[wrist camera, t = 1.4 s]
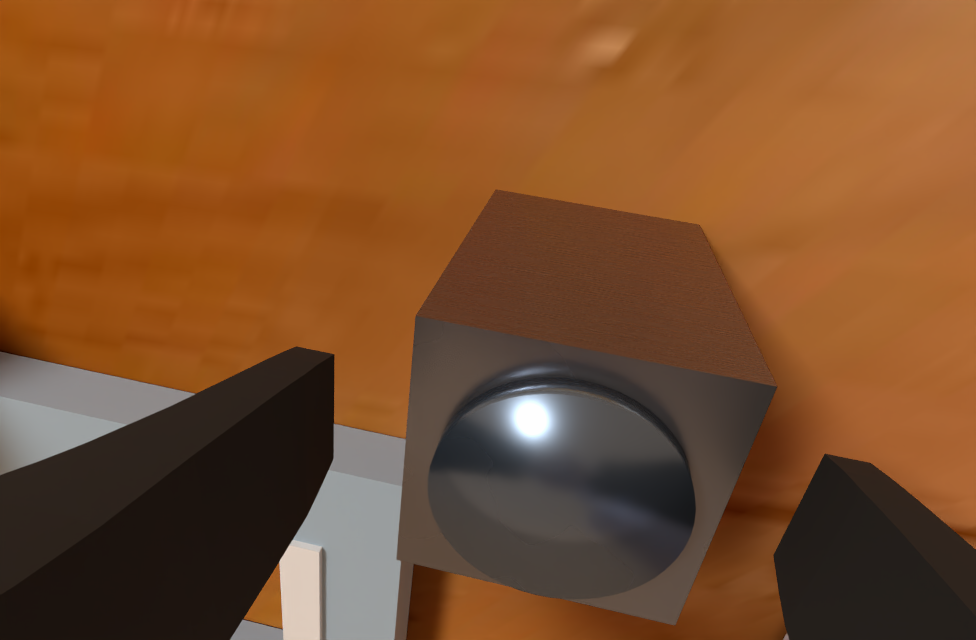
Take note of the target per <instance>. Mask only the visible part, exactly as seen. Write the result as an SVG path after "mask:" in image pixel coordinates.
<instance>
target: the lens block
mask: <svg viewBox="0 0 976 640" xmlns="http://www.w3.org/2000/svg"><path fill="white" fill-rule="evenodd" d="M776 388H777V385H776V383H775V381H774V379H773V377H772V375H771V373H770V371H769V369H768V367H767V364H766V362H765V360H764V358H763V356H762V354H761V352H760V350H759V348H758V346H757V344H756V342H755V340H754V337H753V335H752V333H751V331H750V329H749V327H748V325H747V323H746V321H745V319H744V317H743V315H742V312H741V310H740V308H739V306H738V304H737V302H736V300H735V298H734V296H733V294H732V292H731V290H730V288H729V285H728V283H727V281H726V279H725V277H724V275H723V273H722V271H721V269H720V267H719V265H718V263H717V260H716V258H715V256H714V254H713V252H712V250H711V248H710V246H709V244H708V242H707V240H706V238H705V236H704V233H703V231H702V229H701V227H700V225H697V224H692V223H686V222H680V221H674V220H669V219H663V218H657V217H651V216H646V215H640V214H634V213H628V212H622V211H617V210H611V209H605V208H599V207H594V206H588V205H582V204H576V203H571V202H565V201H559V200H553V199H548V198H542V197H536V196H530V195H524V194H519V193H513V192H507V191H501V190H495V192H494V193H493V195H492V196H491V198H490V200H489V201H488V203H487V204H486V206H485V207H484V209H483V211H482V212H481V214H480V215H479V217H478V219H477V220H476V222H475V223H474V225H473V226H472V228H471V230H470V231H469V233H468V234H467V236H466V237H465V239H464V241H463V242H462V244H461V245H460V247H459V248H458V250H457V252H456V253H455V255H454V256H453V258H452V259H451V261H450V263H449V264H448V266H447V267H446V269H445V270H444V272H443V274H442V275H441V277H440V278H439V280H438V282H437V283H436V285H435V286H434V288H433V289H432V291H431V293H430V294H429V296H428V297H427V299H426V300H425V302H424V304H423V305H422V307H421V308H420V310H419V311H418V313H417V315H416V318H415V331H414V344H413V356H412V369H411V381H410V394H409V406H408V419H407V431H406V444H405V456H404V469H403V481H402V494H401V506H400V519H399V532H398V544H397V557H396V560H399V561H404V562H408V563H412V564H416V565H421V566H425V567H429V568H433V569H438V570H442V571H446V572H450V573H454V574H459V575H463V576H467V577H471V578H476V579H480V580H484V581H488V582H493V583H497V584H501V585H505V586H510V587H512V588H515V589H518V590H521V591H524V592H528V593H531V594H535V595H540V596H545V597H550V598H560V599H565V600H569V601H573V602H577V603H582V604H586V605H590V606H594V607H599V608H603V609H607V610H611V611H616V612H620V613H624V614H628V615H632V616H637V617H641V618H645V619H649V620H654V621H658V622H662V623H666V624H671V625H676V622H677V620H678V618H679V615H680V613H681V611H682V608H683V606H684V604H685V601H686V599H687V597H688V594H689V592H690V590H691V587H692V585H693V583H694V580H695V578H696V576H697V573H698V571H699V569H700V566H701V564H702V562H703V559H704V557H705V555H706V552H707V550H708V548H709V545H710V543H711V540H712V538H713V536H714V533H715V531H716V529H717V526H718V524H719V522H720V519H721V517H722V515H723V512H724V510H725V508H726V505H727V503H728V501H729V498H730V496H731V494H732V491H733V489H734V487H735V484H736V482H737V480H738V477H739V475H740V473H741V470H742V468H743V466H744V463H745V461H746V459H747V456H748V454H749V451H750V449H751V447H752V444H753V442H754V440H755V437H756V435H757V433H758V430H759V428H760V426H761V423H762V421H763V419H764V416H765V414H766V412H767V409H768V407H769V405H770V402H771V400H772V398H773V395H774V393H775V391H776Z"/></svg>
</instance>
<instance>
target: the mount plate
mask: <svg viewBox="0 0 976 640" xmlns="http://www.w3.org/2000/svg"><path fill="white" fill-rule="evenodd" d="M193 395H195V394H194V393H189V392H185V391H180V390H175V389H171V388H166V387H161V386H157V385H152V384H148V383H143V382H138V381H134V380H129V379H124V378H120V377H115V376H111V375H106V374H101V373H97V372H92V371H87V370H83V369H78V368H74V367H69V366H64V365H60V364H55V363H51V362H46V361H41V360H37V359H32V358H27V357H23V356H18V355H14V354H9V353H4V352H0V475H2V474H4V473H7V472H10V471H13V470H16V469H18V468H21V467H24V466H27V465H30V464H32V463H35V462H38V461H41V460H43V459H46V458H49V457H51V456H54V455H56V454H59V453H62V452H64V451H67V450H69V449H72V448H74V447H77V446H79V445H82V444H84V443H87V442H89V441H92V440H94V439H96V438H98V437H101V436H103V435H105V434H108V433H110V432H112V431H115V430H117V429H119V428H121V427H124V426H126V425H128V424H131V423H133V422H135V421H138V420H140V419H142V418H144V417H147V416H149V415H151V414H154V413H156V412H158V411H161V410H163V409H165V408H167V407H170V406H172V405H174V404H176V403H178V402H180V401H182V400H184V399H186V398H188V397H191V396H193ZM405 444H406V439H402V438H397V437H392V436H388V435H383V434H379V433H374V432H369V431H365V430H360V429H356V428H351V427H346V426H342V425H337V424H334V459H333V461H332V464H331V466H330V468H329V470H328V473H327V475H326V477H325V479H324V481H323V484H322V486H321V488H320V490H319V492H318V495H317V497H316V499H315V501H314V503H313V505H312V507H311V509H310V511H309V513H308V515H307V517H306V519H305V521H304V522H303V524H302V526H301V527H300V529H299V530H298V532H297V534H296V535H295V537H294V539H293V540H292V542H291V543H290V545H289V547H288V548H287V550H286V551H285V553H284V555H283V556H282V558H281V560H280V581H281V600H282V619H283V630H282V629H278V628H274V627H270V626H266V625H262V624H258V623H254V622H250V621H246V620H242V622H241V623H240V625H239V626H238V628H237V629H236V631H235V633H234V634H233V636H232V637H231V639H230V640H406V636H407V626H408V616H409V606H410V596H411V586H412V576H413V566H414V564H412V563H408V562H404V561H399V560H396V557H397V544H398V532H399V519H400V506H401V494H402V481H403V469H404V456H405Z"/></svg>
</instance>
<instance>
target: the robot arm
mask: <svg viewBox="0 0 976 640" xmlns="http://www.w3.org/2000/svg"><path fill="white" fill-rule="evenodd" d="M333 459H334V354H330V353H325V352H320V351H315V350H310V349H306V348H301V347H294V348H292V349H289V350H287V351H284V352H282V353H280V354H278V355H275V356H273V357H271V358H269V359H267V360H265V361H263V362H261V363H259V364H257V365H254V366H252V367H250V368H248V369H246V370H244V371H242V372H240V373H238V374H236V375H234V376H232V377H230V378H228V379H226V380H224V381H222V382H220V383H218V384H216V385H213V386H211V387H209V388H207V389H205V390H203V391H201V392H199V393H197V394H195V395H193V396H191V397H188V398H186V399H184V400H182V401H180V402H178V403H176V404H174V405H172V406H170V407H167V408H165V409H163V410H161V411H158V412H156V413H154V414H151V415H149V416H147V417H144V418H142V419H140V420H138V421H135V422H133V423H131V424H128V425H126V426H124V427H121V428H119V429H117V430H115V431H112V432H110V433H108V434H105V435H103V436H101V437H98V438H96V439H94V440H92V441H89V442H87V443H84V444H82V445H79V446H77V447H74V448H72V449H69V450H67V451H64V452H62V453H59V454H56V455H54V456H51V457H49V458H46V459H43V460H41V461H38V462H35V463H32V464H30V465H27V466H24V467H21V468H18V469H16V470H13V471H10V472H7V473H4V474H2V475H0V640H230V639H231V637H232V636H233V634H234V633H235V631H236V629H237V628H238V626H239V625H240V623H241V622H242V620H243V618H244V617H245V615H246V614H247V612H248V610H249V609H250V607H251V606H252V604H253V602H254V601H255V599H256V598H257V596H258V595H259V593H260V591H261V590H262V588H263V587H264V585H265V583H266V582H267V580H268V579H269V577H270V575H271V574H272V572H273V571H274V569H275V568H276V566H277V564H278V563H279V561H280V560H281V558H282V556H283V555H284V553H285V551H286V550H287V548H288V547H289V545H290V543H291V542H292V540H293V539H294V537H295V535H296V534H297V532H298V530H299V529H300V527H301V526H302V524H303V522H304V521H305V519H306V517H307V515H308V513H309V511H310V509H311V507H312V505H313V503H314V501H315V499H316V497H317V495H318V492H319V490H320V488H321V486H322V484H323V481H324V479H325V477H326V475H327V473H328V470H329V468H330V466H331V464H332V461H333ZM774 562H775V569H776V575H777V582H778V589H779V595H780V601H781V606H782V611H783V617H784V622H785V627H786V630H787V633H786V635H785V637H784V639H783V640H976V550H975V549H974V548H973V547H972V546H971V545H970V544H968V543H967V542H966V541H965V540H964V539H963V538H961V537H960V536H959V535H958V534H957V533H956V532H954V531H953V530H952V529H951V528H950V527H949V526H947V525H946V524H945V523H944V522H943V521H942V520H940V519H939V518H938V517H937V516H936V515H935V514H933V513H932V512H931V511H930V510H929V509H928V508H926V507H925V506H924V505H923V504H922V503H920V502H919V501H918V500H917V499H916V498H914V497H913V496H912V495H911V494H910V493H908V492H907V491H906V490H905V489H904V488H902V487H901V486H900V485H899V484H897V483H896V482H895V481H894V480H892V479H891V478H890V477H888V476H887V475H886V474H885V473H883V472H882V471H881V470H879V469H878V468H876V467H875V466H874V465H872V464H871V463H868V462H863V461H858V460H853V459H848V458H843V457H838V456H833V455H828V454H825V455H824V457H823V458H822V460H821V462H820V464H819V466H818V468H817V470H816V472H815V474H814V476H813V478H812V480H811V482H810V484H809V486H808V488H807V490H806V492H805V494H804V496H803V498H802V500H801V502H800V504H799V506H798V508H797V510H796V512H795V514H794V516H793V518H792V520H791V522H790V524H789V526H788V528H787V530H786V532H785V534H784V536H783V537H782V539H781V541H780V543H779V545H778V547H777V549H776V551H775V553H774Z"/></svg>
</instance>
